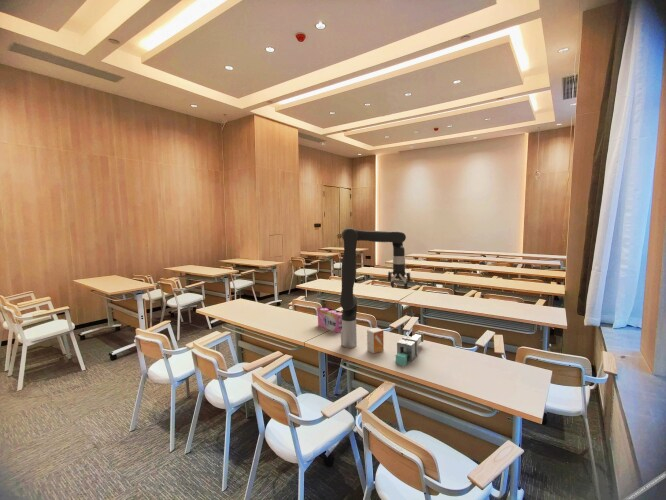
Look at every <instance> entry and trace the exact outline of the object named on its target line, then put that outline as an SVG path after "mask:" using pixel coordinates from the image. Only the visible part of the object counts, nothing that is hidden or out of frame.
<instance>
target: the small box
mask: <svg viewBox="0 0 666 500" xmlns="http://www.w3.org/2000/svg"><path fill="white" fill-rule="evenodd" d="M366 333H367V335H366V338H367V339H366V342H367V343H366V345H367V346H366V347H367V348H366V351H368V352H370V353H372V354H377V353H380V352H383V351H384V345H385V344H384V343H385V342H384V329H381V328H380V327H374V328H370V329H367V330H366Z"/></svg>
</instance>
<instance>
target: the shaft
mask: <svg viewBox="0 0 666 500" xmlns="http://www.w3.org/2000/svg"><path fill="white" fill-rule="evenodd" d="M424 335H425V334H424V332H418V331H415V332H414V335H412V336H411V337H410V338H412V339H417V340H418V345H419V344H420V343H423V342H424V341H425V339H424V338H425V337H424ZM403 352H404V353H408V348H405V347H403Z"/></svg>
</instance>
